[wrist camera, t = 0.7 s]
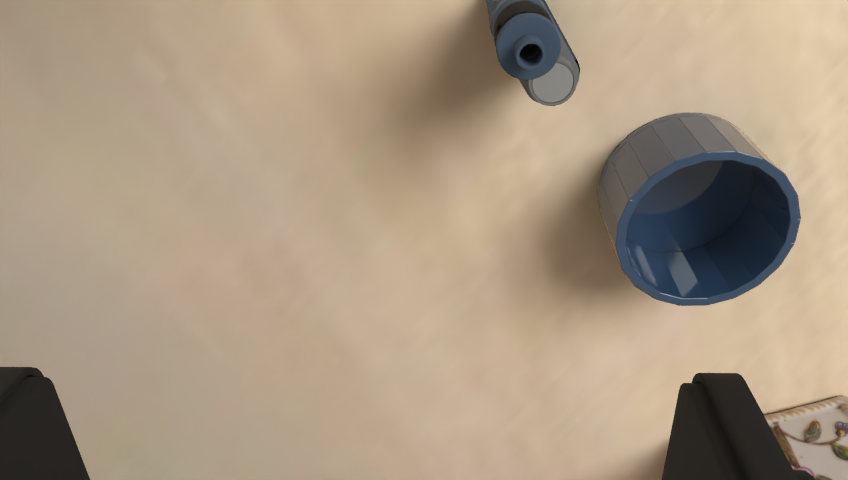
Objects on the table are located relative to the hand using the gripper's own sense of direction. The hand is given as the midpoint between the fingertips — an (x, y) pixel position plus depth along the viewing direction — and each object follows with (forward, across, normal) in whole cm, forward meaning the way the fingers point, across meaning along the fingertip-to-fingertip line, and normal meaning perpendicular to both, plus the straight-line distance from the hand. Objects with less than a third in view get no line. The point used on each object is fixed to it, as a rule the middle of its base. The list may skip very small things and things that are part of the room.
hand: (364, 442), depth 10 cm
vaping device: (+29, -4, -1) cm, 29 cm away
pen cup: (+29, -14, +9) cm, 33 cm away
